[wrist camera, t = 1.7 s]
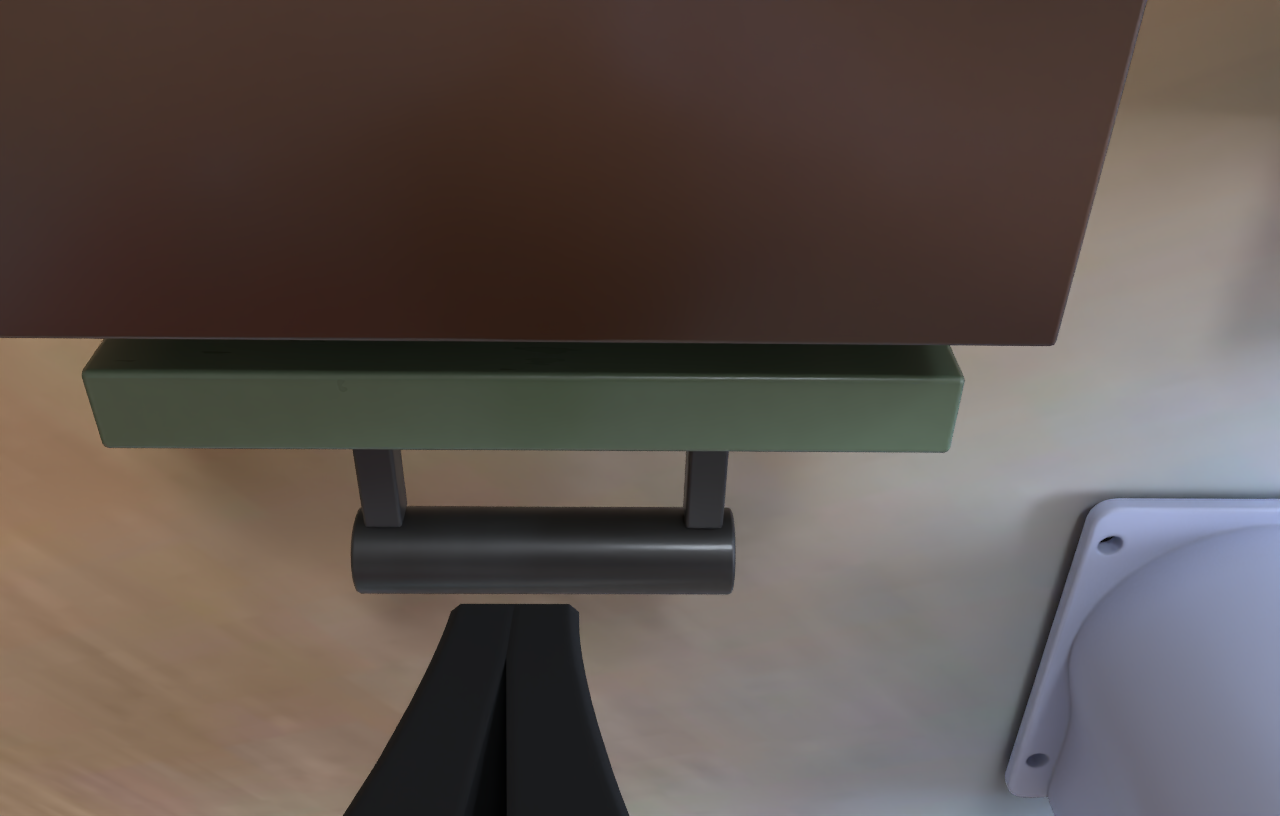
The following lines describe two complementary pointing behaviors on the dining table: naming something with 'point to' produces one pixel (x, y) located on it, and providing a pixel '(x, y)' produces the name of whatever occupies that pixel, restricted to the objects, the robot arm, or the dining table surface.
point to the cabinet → (553, 168)
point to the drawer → (528, 437)
